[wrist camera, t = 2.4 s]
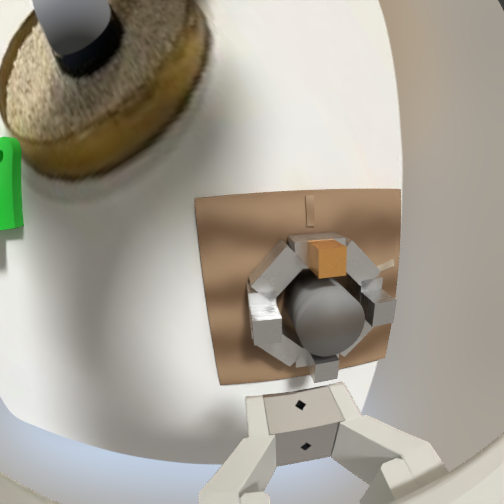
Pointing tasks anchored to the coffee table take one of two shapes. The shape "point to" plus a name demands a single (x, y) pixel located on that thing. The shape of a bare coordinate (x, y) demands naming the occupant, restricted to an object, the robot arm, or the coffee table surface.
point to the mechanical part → (10, 184)
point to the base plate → (257, 237)
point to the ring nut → (323, 266)
